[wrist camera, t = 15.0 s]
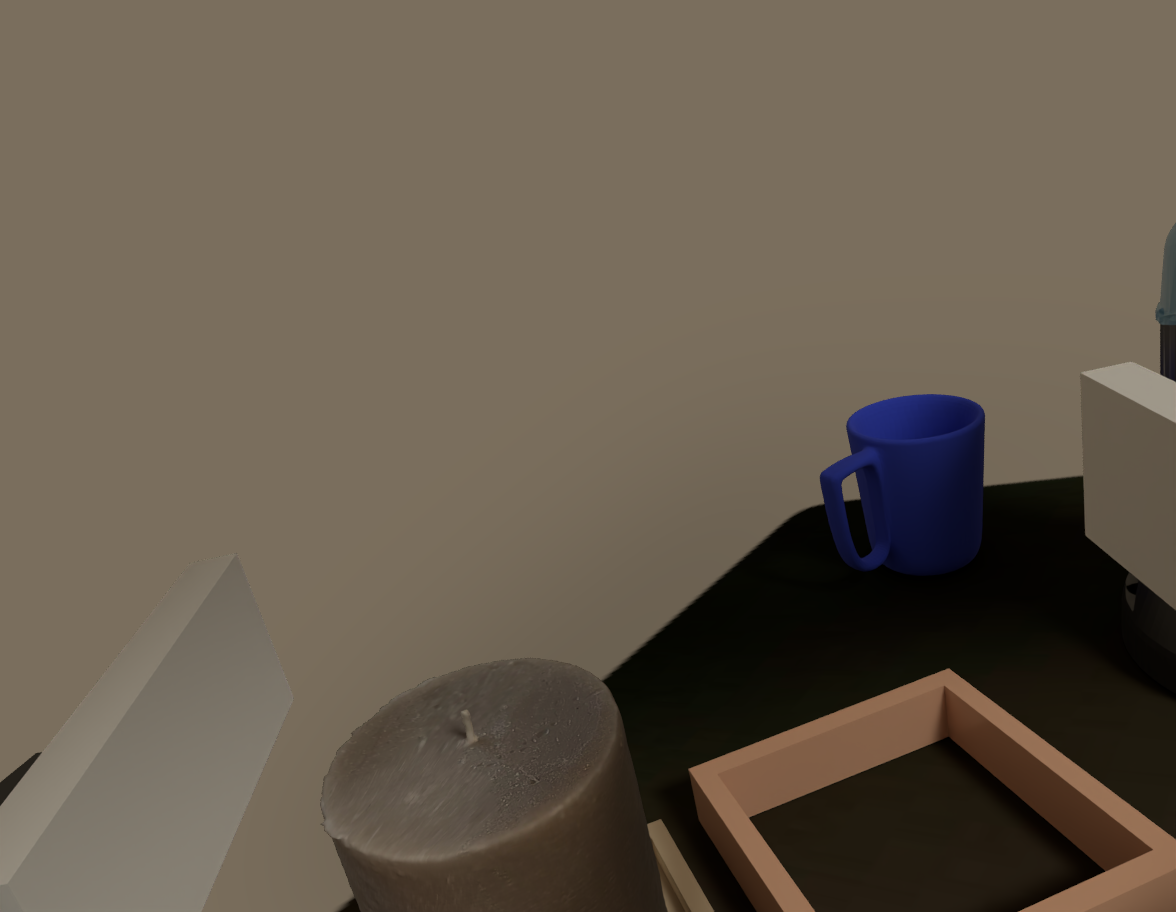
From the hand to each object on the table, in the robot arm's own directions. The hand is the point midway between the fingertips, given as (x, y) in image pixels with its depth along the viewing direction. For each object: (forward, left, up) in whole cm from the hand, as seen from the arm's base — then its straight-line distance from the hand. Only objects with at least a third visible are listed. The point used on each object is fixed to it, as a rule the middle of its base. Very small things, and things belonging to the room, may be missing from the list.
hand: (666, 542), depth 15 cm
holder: (-13, -15, -26) cm, 32 cm away
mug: (-27, -36, -26) cm, 52 cm away
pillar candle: (+4, -13, -25) cm, 28 cm away
